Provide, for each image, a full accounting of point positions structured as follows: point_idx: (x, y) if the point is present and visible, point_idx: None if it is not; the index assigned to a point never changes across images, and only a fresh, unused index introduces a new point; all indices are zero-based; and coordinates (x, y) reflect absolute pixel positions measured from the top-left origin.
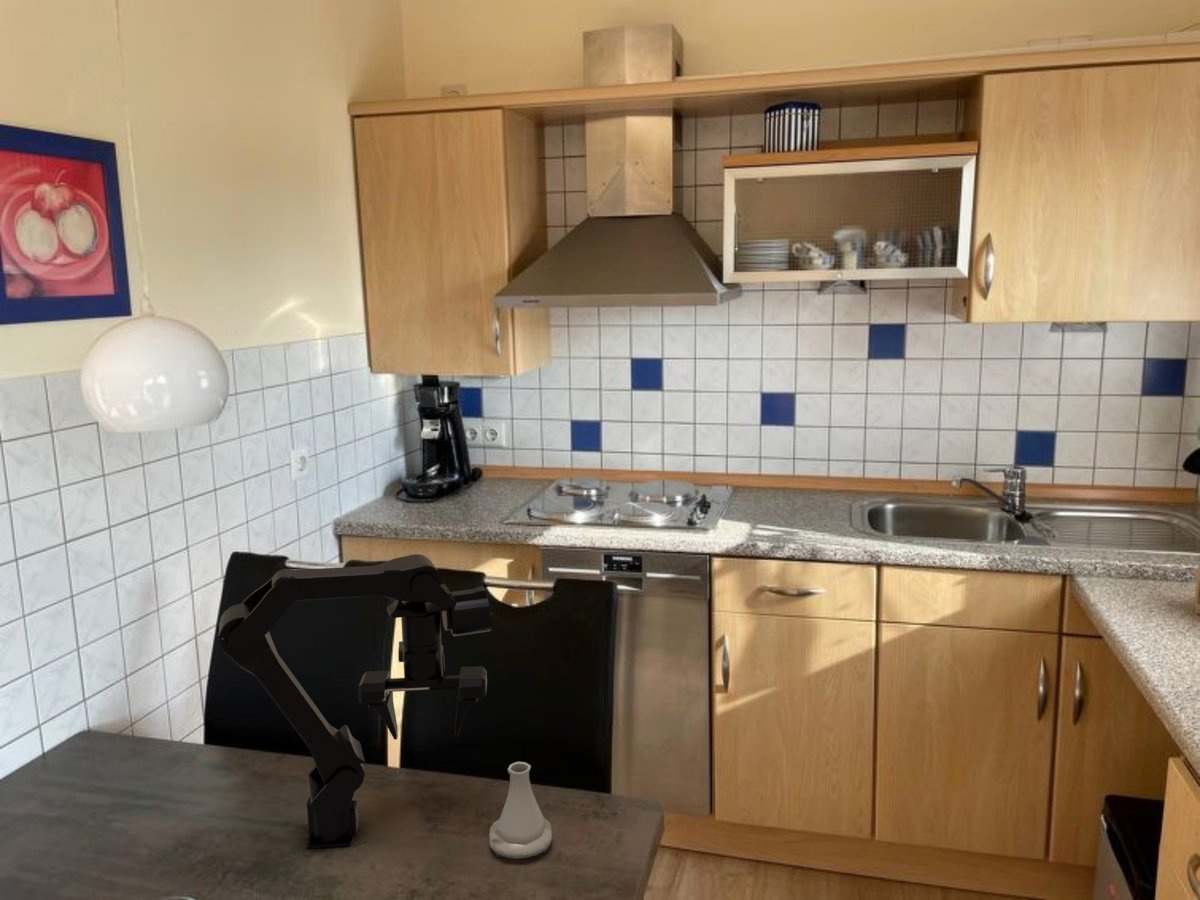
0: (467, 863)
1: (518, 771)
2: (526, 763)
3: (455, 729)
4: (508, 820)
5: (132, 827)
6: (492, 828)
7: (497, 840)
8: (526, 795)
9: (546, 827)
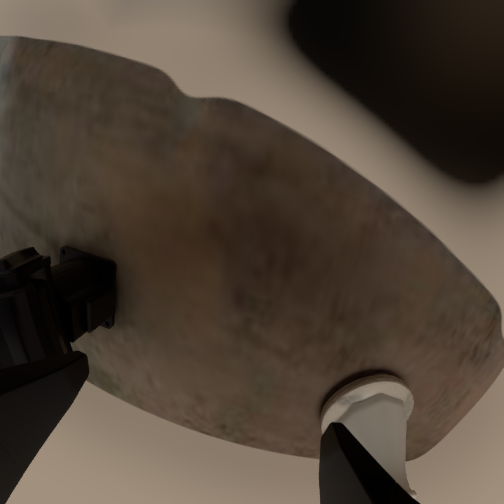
0: (280, 418)
1: (400, 484)
2: (415, 497)
3: (320, 474)
4: None
5: None
6: (333, 412)
7: None
8: None
9: None
